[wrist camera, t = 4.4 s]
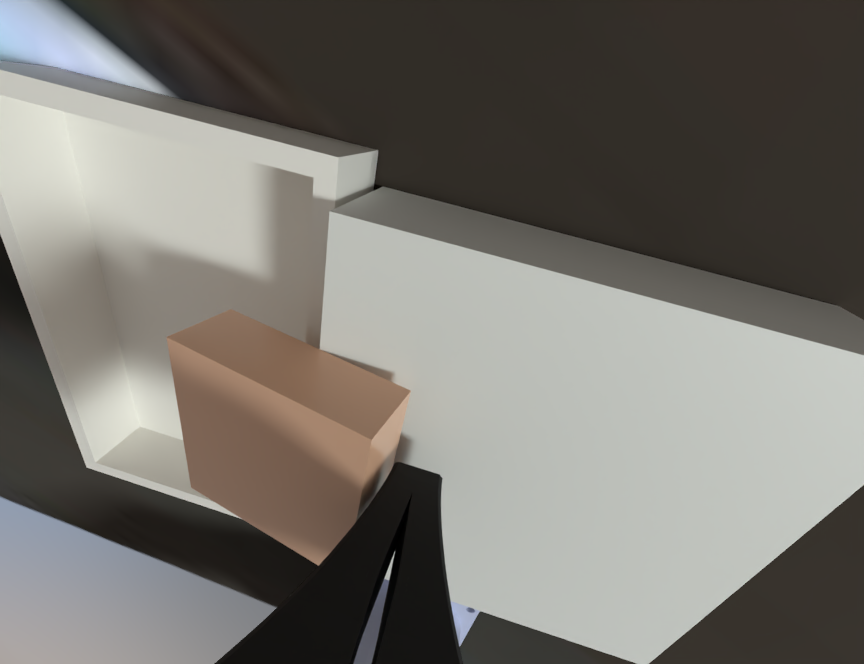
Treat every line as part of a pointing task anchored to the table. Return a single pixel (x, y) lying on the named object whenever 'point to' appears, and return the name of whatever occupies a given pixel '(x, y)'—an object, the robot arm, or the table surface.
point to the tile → (283, 429)
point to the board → (595, 414)
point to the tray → (156, 244)
